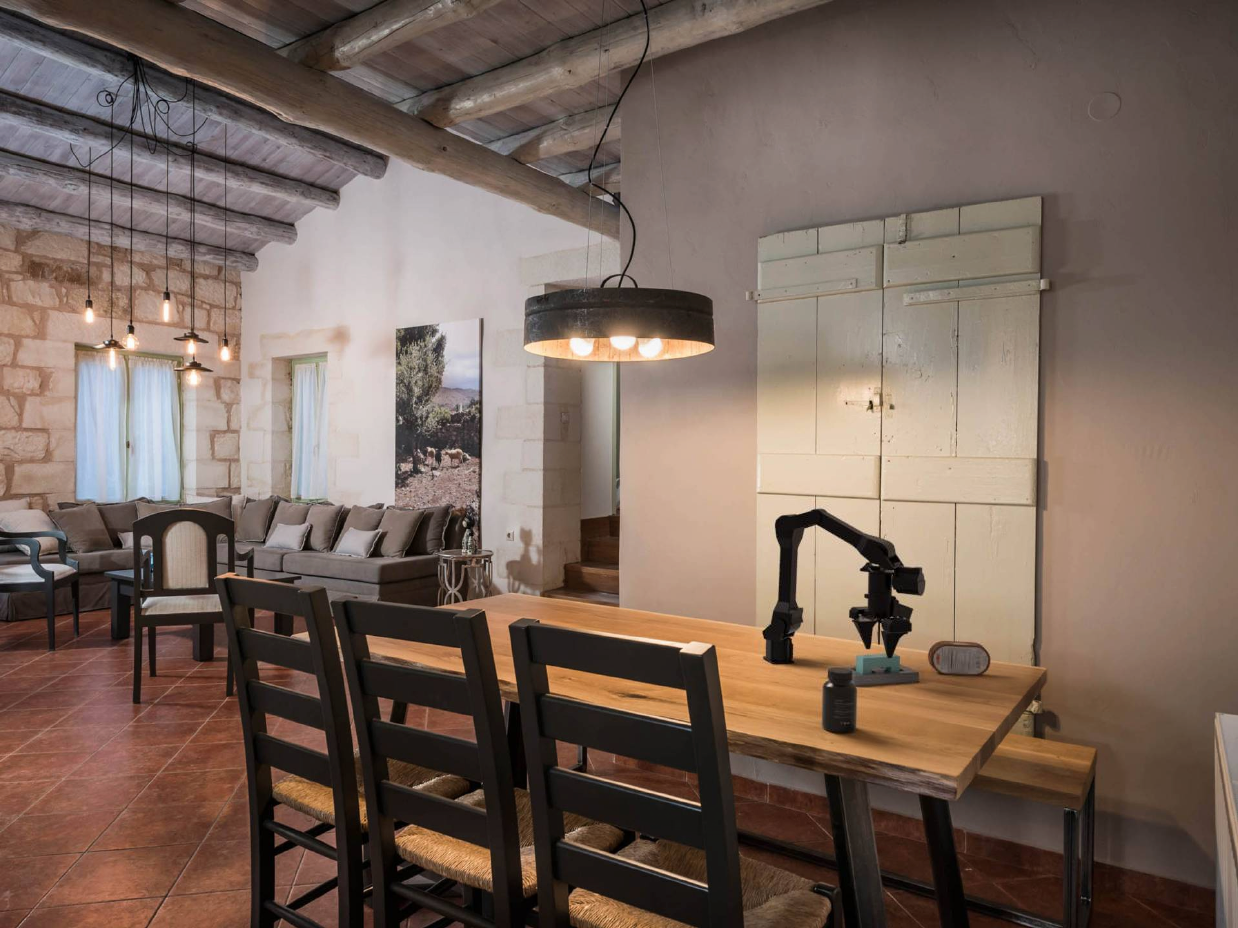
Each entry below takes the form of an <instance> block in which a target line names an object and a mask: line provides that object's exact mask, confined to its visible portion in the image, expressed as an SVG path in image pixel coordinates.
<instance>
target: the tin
mask: <svg viewBox="0 0 1238 928" xmlns="http://www.w3.org/2000/svg"><path fill="white" fill-rule="evenodd" d="M927 659H928V660H927V661H928V663H929V665H930V666H931V668H933V669H934V670H935V671H936V672H937V673H939V674H941V675H948V676H965V677H966V676H967V677H968V676H969V677H978V676H981V675H983V674H985V673H986V672H987V671H988V670H989V668H990V666H991V655H990V653H989V652H988V650H987V649H986V648H985V647H984V646H983V644H981V643H978V642H975V641H974V642H973V641H955V640H940V641H937V642H935V643H934V644H933V645H931V647H930V648H929V651H928V654H927Z"/></svg>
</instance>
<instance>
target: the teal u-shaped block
mask: <svg viewBox="0 0 1238 928" xmlns="http://www.w3.org/2000/svg"><path fill="white" fill-rule="evenodd" d="M900 664H901V656H900V655H898V654H896V653H894V654H893V657H892V658H887V655H886V653H876V654H875V653H874V654H857V655H855V666H856V672H859V673H861V674H867V673H872V668H879V667H884V670H886V671H889V672H898V671H900Z"/></svg>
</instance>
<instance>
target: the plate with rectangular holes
mask: <svg viewBox="0 0 1238 928" xmlns="http://www.w3.org/2000/svg"><path fill="white" fill-rule="evenodd" d="M841 667H842V668H847V669H850V670H851V671H852V677H853V680H852V681H851V683H853V684H854V685H855V686H856V687H865V686H866V687H867V686H881V685H883V686H884V685H895V684H896V685H897V684H909V683H910V684H912V683H919V682H920V671H918V670H915V669H913V668H910V667H907V666H905V665H903V664H901V663H900V671H898V672H889V671H886V670H884V667H879V668H872V673H867V674H861V673H859V672H856V665H855V666H841Z"/></svg>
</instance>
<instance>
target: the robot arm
mask: <svg viewBox="0 0 1238 928" xmlns="http://www.w3.org/2000/svg"><path fill="white" fill-rule="evenodd" d="M814 526H818V527H820V528H821V529H823V530H825V531H826V532H828V533H829V534H832V535H833V536H834V537H837V538H838V539H840V540H842V541H843V542H846V543H847V544H849V545H850V546H851V547H854V548H855V550H857V552H858V554H859V555H861V556H862V557H863V558H864V559H866V560H867V562H865V564H864V565H863V566H862V567H861V568H859V572H861V573H862V572H864V573H867V575H868V576H867V593H864V594H863V595H864V596H863V598H864V599H867V606H852V607H851V608H850V609H849V610H848V614H849V615H848V618H849V619H851V622H852V623H853V624H854V626H855V628H856V630H857V633H858V635H859V636H860V639H861V641H862V643H863V645H864V648H865V650H871V647H872V640H873V630H874V628H875V625H876V624H878V623H879V624H880V625H881V628H882V630H880V635H881V637H882V641H883V646H884V652H885V654H886V655H887V658H892V657H893V654H895V651H896V649H897V646H898V643H899V642H900V639H901V638H902V637H903V636H904V635H908V634H909V633H911V632H912V631H913V623H912V622H911V621H910V620H911V619H912V614H913V611H914V608H912V607H910V606H908V605H904V604H902V603H900V600H899V599H897V597H896V595H893V591H894V590H895V592H896V593H897V594H902V595H911V596H917V597H918V596H920V597H921V596H923V595H924V593H925V589H926V579H925V574H924V573H923V567H920V566H919V567H918V566H914V567H912V566H905V565H904V563H903V562H902V560H901V559H900V557H899V556H898V555H897V552H896V548H895V545H894V543H893V542H891V541H890V540H887V539H886V538H885V539H884V538H881V537H878V536H875V535H872V534H868V533H865V532H863V531H862V530H860V529H858V528H856V527H854V526H853V525H851V524H849V523H847V522H846V521H844V520H843V519H840V518H838V517H837V516H835V515H833V514H831V513H829V512H828V510H826V509H825V508H813V509H810V511H806V512H803V513H799V514H797V513H794V514H793V513H791V514H790V513H789V514H783V515H780V516H779V517H778V518H776V519H775V522H774V530H775V538H776V541H777V543H778V545H779V564H778V566H779V567H778V568H779V569H778V571H779V572H778V589H777V590H778V591H777V592H778V593H777V594H778V595H777V602H776V603H775V607H774V608H773V610H772V615H771V620H770V623H769V625H768V626H767V627H766V628H764V629H763V630H762V631H761V633H762V637H763V639H764V640H765V655H763V656H762V659H763V660H765V659H766V660H765V661H768V662H769V663H771V664H773V665H775V664H776V665H778V664H792V663H795V659H794V644H793V637H794V636H795V634H796V632H797V631H798V630H799V629H800V628H801V627H802V623H804V619H803V614H804V607H800V606H799V605H798V602H797V583H798V581H797V580H798V578H797V577H798V576H797V575H798V557H799V556H798V555H799V547H800V544H801V543H802V540H803V538H804V533H805V529H808V528H811V527H814Z"/></svg>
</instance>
